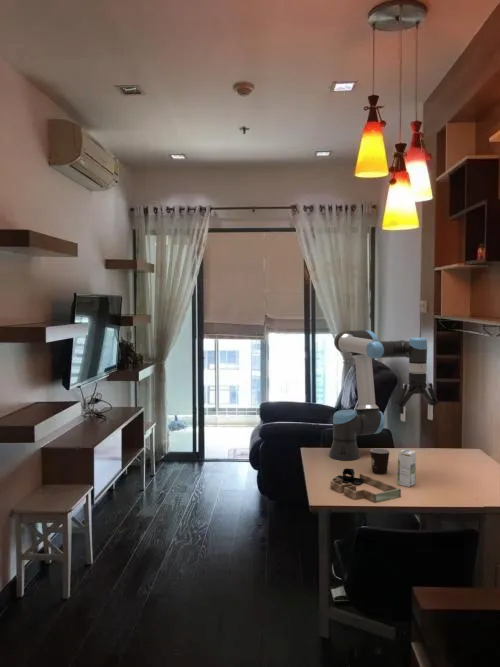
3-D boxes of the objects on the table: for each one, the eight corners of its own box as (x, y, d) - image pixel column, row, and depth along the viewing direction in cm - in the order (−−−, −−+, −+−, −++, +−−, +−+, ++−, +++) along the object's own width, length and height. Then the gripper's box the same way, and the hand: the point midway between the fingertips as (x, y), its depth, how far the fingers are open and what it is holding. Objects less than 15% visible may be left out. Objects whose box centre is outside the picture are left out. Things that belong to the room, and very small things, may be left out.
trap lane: (327, 486, 228) (327, 479, 228) (360, 480, 237) (361, 473, 237) (365, 504, 207) (365, 496, 207) (400, 496, 216) (400, 489, 216)
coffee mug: (389, 475, 243) (389, 453, 243) (370, 474, 245) (370, 452, 245) (388, 468, 255) (388, 447, 254) (369, 467, 256) (369, 446, 256)
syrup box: (402, 481, 235) (403, 448, 234) (415, 484, 231) (416, 450, 231) (397, 484, 230) (397, 451, 230) (410, 487, 227) (410, 453, 226)
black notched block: (332, 480, 236) (331, 469, 236) (339, 476, 242) (338, 465, 242) (359, 483, 229) (358, 473, 229) (365, 479, 235) (365, 468, 235)
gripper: (396, 374, 231) (395, 423, 232) (447, 372, 237) (446, 420, 239) (387, 372, 238) (387, 419, 240) (437, 370, 245) (436, 417, 246)
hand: (416, 420), depth 239 cm, fingers open, 13 cm apart
